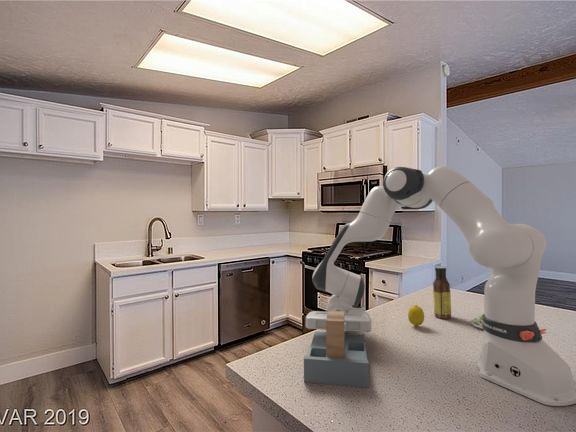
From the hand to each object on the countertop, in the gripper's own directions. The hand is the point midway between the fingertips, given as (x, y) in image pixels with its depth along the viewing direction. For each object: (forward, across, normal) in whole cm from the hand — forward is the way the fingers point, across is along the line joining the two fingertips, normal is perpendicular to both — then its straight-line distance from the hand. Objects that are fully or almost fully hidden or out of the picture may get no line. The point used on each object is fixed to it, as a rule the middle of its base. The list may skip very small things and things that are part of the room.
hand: (337, 330), depth 95 cm
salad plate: (-34, +57, +9) cm, 67 cm away
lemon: (-30, +28, +8) cm, 41 cm away
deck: (+1, 0, +8) cm, 8 cm away
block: (+7, 0, +5) cm, 9 cm away
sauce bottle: (-42, +40, +8) cm, 59 cm away
